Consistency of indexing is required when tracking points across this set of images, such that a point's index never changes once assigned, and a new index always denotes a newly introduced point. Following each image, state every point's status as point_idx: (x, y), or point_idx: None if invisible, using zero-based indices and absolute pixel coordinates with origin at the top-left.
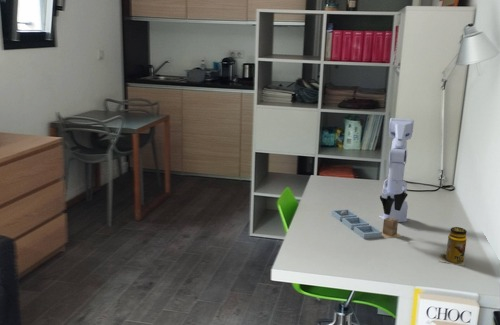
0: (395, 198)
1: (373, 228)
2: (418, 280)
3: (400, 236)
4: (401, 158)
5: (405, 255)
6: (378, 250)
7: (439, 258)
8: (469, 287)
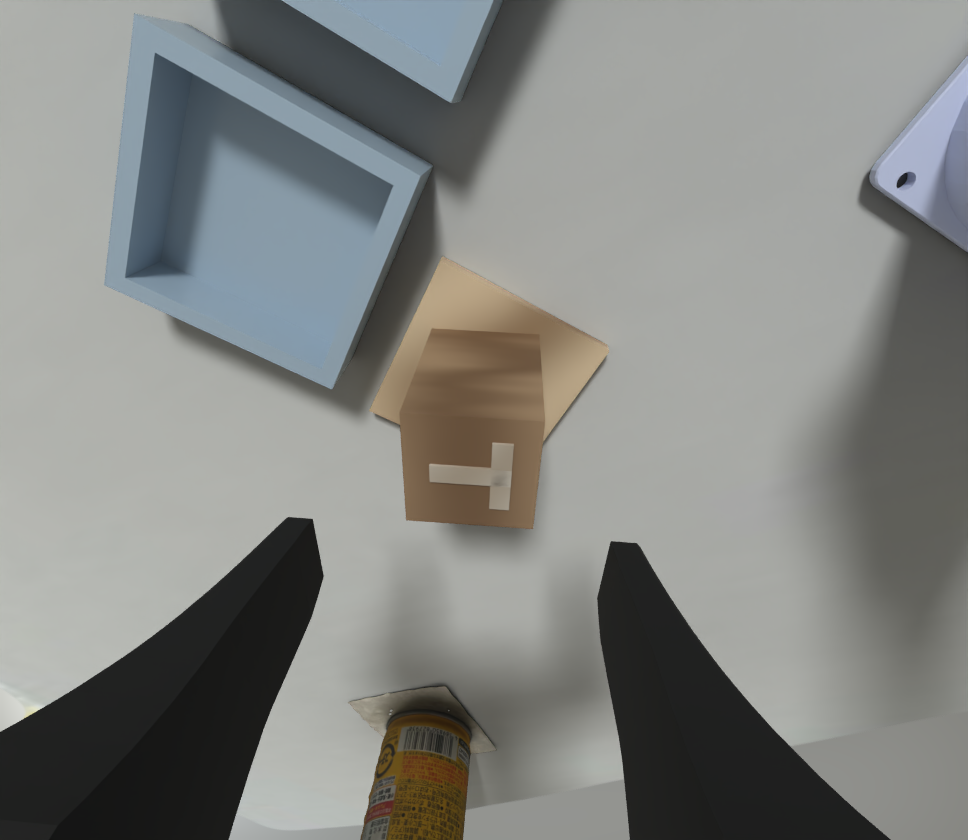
0: (667, 747)
1: (372, 244)
2: None
3: None
4: None
5: None
6: (129, 459)
7: (386, 695)
8: None
